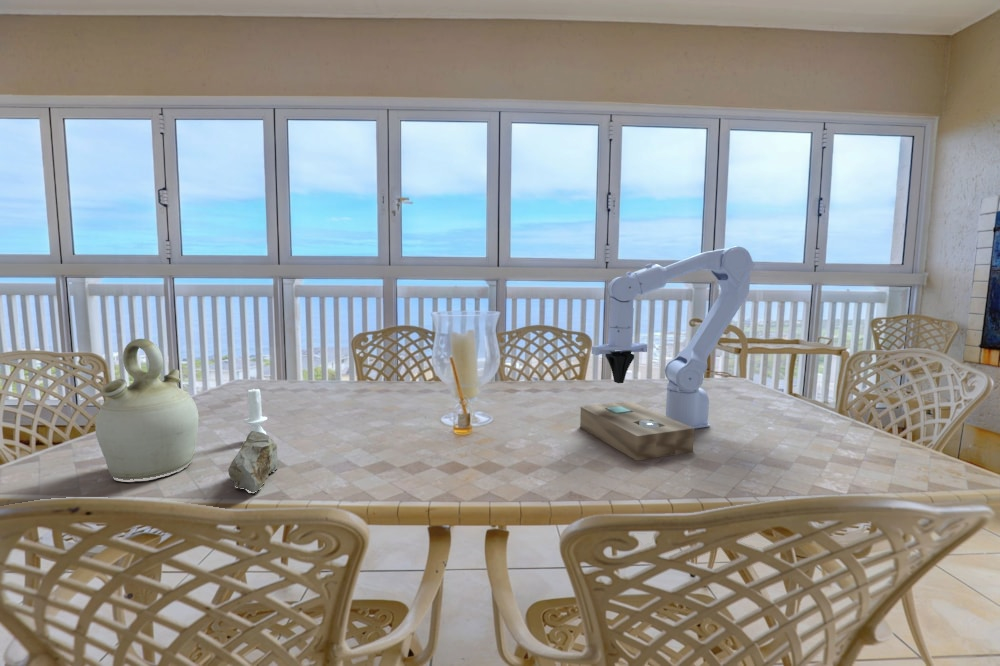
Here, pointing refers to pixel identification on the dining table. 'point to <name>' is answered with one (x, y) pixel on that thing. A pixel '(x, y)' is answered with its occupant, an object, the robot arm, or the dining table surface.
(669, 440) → the socket block
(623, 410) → the peg square
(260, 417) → the candle
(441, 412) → the dining table surface
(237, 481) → the rock
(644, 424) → the peg round
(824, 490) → the dining table surface
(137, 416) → the jug
